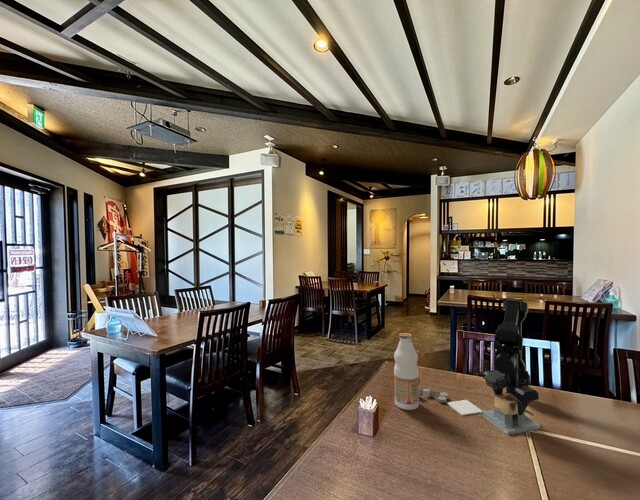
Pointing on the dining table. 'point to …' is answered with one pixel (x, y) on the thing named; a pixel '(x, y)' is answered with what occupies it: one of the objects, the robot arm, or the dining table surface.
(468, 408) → the felt mat
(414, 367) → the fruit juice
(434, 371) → the dining table surface
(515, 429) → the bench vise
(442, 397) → the pulley system
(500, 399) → the brass collar
